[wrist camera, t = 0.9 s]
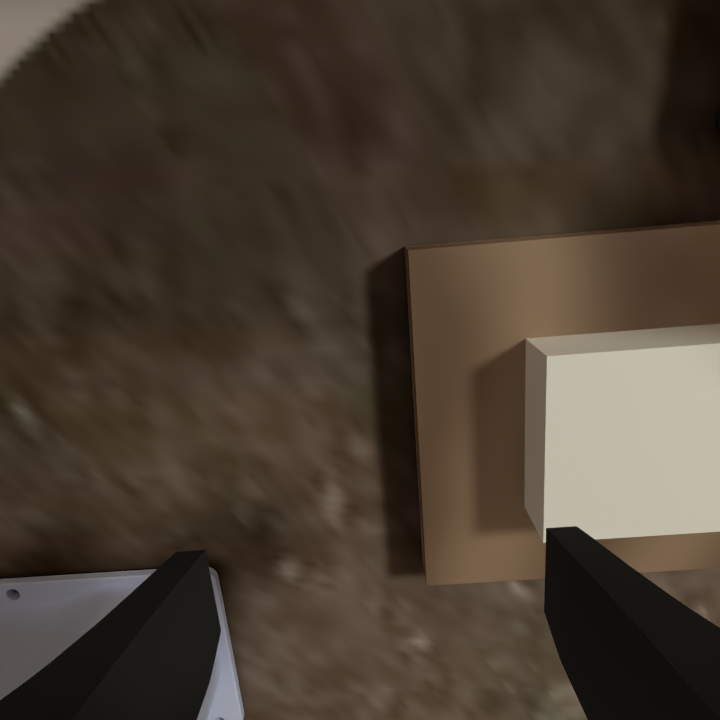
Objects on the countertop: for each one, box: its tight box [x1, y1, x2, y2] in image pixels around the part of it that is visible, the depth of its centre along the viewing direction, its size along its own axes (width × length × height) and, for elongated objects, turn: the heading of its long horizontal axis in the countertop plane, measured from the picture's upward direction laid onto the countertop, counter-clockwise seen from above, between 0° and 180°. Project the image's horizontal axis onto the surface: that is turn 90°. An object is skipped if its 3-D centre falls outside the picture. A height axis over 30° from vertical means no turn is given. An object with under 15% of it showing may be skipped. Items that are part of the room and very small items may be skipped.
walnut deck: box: [405, 220, 720, 586], centre depth 18 cm, size 12×12×2 cm
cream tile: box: [524, 324, 720, 543], centre depth 16 cm, size 9×6×2 cm, turn 95°
